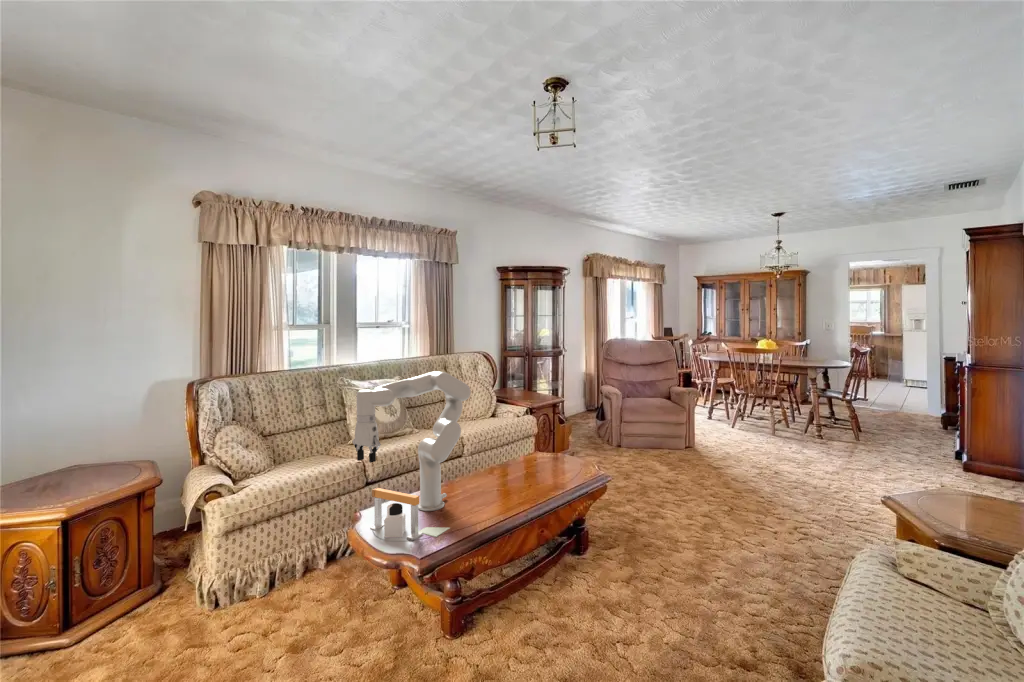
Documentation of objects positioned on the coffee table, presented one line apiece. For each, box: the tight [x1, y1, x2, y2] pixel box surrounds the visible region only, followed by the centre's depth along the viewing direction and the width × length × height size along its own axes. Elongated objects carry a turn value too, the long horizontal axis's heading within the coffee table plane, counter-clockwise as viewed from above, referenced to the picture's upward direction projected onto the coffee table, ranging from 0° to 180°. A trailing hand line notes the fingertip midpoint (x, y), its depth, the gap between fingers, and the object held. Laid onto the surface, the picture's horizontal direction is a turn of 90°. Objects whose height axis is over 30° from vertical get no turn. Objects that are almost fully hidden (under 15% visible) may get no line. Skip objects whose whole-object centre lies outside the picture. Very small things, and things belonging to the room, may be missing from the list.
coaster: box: [418, 526, 450, 538], centre depth 191 cm, size 10×10×1 cm
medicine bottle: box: [383, 502, 407, 539], centre depth 188 cm, size 7×7×12 cm
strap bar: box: [371, 487, 420, 506], centre depth 190 cm, size 3×23×3 cm, turn 61°
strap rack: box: [369, 497, 424, 542], centre depth 190 cm, size 6×23×13 cm, turn 61°
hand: (366, 460), depth 198 cm, fingers open, 6 cm apart
